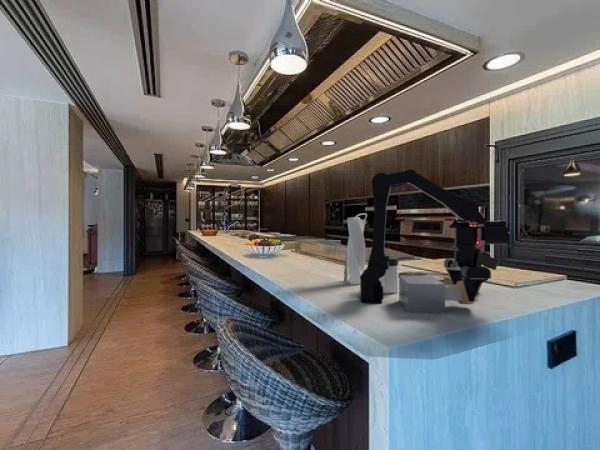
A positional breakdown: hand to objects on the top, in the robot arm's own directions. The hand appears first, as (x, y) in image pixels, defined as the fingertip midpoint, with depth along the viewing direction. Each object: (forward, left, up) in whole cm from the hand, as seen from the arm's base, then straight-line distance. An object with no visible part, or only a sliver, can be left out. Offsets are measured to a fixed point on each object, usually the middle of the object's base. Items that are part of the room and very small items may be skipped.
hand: (464, 297), depth 93 cm
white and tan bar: (-5, 0, -2) cm, 6 cm away
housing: (-12, 0, -3) cm, 13 cm away
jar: (-19, +19, -3) cm, 27 cm away
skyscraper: (-29, +31, -4) cm, 43 cm away
